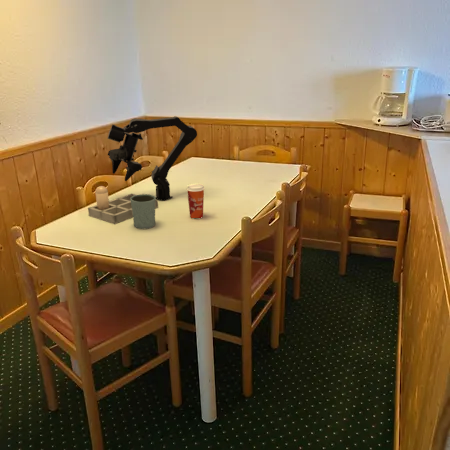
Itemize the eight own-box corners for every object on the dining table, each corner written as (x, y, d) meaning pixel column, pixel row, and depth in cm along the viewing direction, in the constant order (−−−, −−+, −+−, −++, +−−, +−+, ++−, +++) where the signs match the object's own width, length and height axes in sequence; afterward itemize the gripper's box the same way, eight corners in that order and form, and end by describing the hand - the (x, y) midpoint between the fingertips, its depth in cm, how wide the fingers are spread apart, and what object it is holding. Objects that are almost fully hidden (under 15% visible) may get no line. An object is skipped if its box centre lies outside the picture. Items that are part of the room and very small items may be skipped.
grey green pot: (135, 220, 187) (133, 193, 183) (159, 220, 187) (157, 193, 182) (130, 229, 178) (127, 201, 173) (155, 229, 177) (153, 201, 173)
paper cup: (191, 221, 186) (190, 189, 181) (185, 215, 192) (183, 184, 187) (208, 217, 189) (207, 186, 184) (201, 212, 196) (200, 182, 191)
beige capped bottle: (112, 211, 196) (109, 184, 191) (106, 215, 191) (103, 188, 187) (101, 211, 197) (98, 184, 192) (95, 214, 192) (92, 187, 188)
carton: (158, 207, 202) (157, 200, 201) (114, 224, 184) (113, 215, 182) (132, 200, 212) (131, 193, 211) (88, 215, 194) (87, 207, 192)
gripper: (103, 136, 200) (93, 168, 204) (128, 150, 191) (118, 183, 194) (122, 139, 209) (112, 170, 213) (147, 153, 200) (136, 185, 204)
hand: (119, 177), depth 206 cm, fingers open, 9 cm apart
